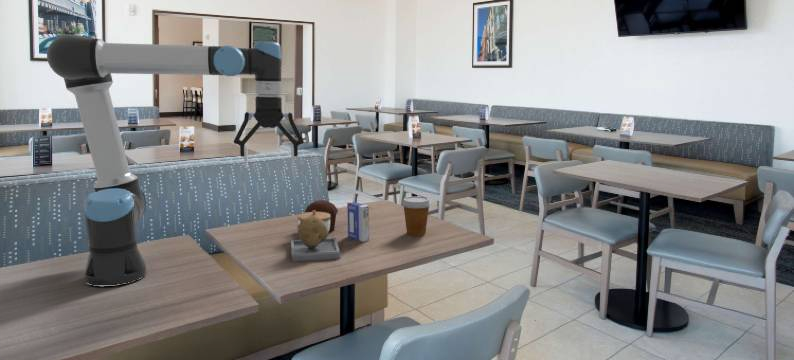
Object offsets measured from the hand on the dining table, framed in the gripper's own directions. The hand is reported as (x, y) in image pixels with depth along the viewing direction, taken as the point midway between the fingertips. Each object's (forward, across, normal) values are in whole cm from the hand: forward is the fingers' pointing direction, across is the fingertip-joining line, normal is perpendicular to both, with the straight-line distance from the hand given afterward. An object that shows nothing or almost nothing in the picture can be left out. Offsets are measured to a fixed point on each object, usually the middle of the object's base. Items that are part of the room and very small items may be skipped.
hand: (269, 167), depth 176 cm
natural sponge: (+25, +13, -4) cm, 28 cm away
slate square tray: (+26, +13, -4) cm, 29 cm away
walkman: (+26, +28, +9) cm, 39 cm away
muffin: (+26, +17, +21) cm, 38 cm away
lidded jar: (+26, +14, +12) cm, 32 cm away
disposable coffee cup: (+25, +48, +11) cm, 55 cm away
